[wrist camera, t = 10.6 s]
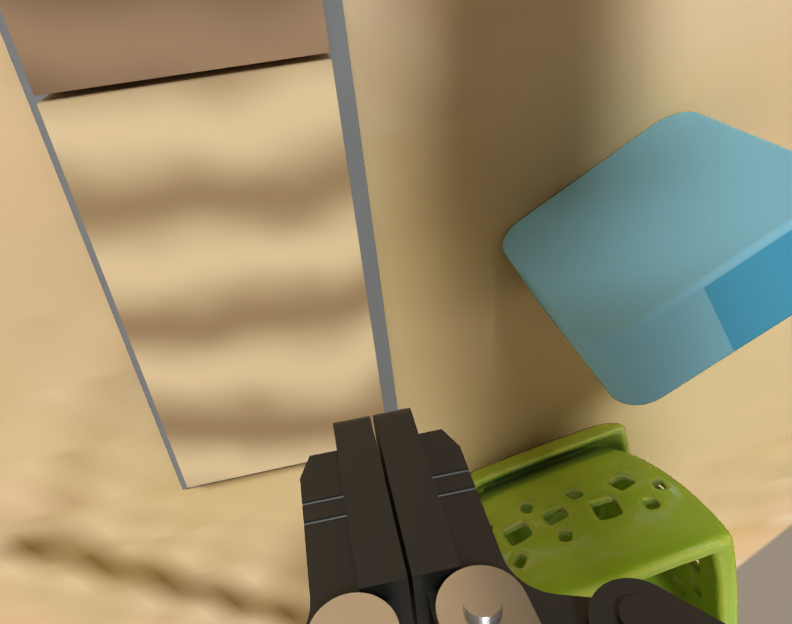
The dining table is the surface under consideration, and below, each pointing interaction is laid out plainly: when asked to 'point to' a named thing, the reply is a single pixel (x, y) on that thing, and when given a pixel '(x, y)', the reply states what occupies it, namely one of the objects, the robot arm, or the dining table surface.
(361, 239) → the underlay
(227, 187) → the oak plank
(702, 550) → the flower pot
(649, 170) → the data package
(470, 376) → the dining table surface
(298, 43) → the walnut plank
